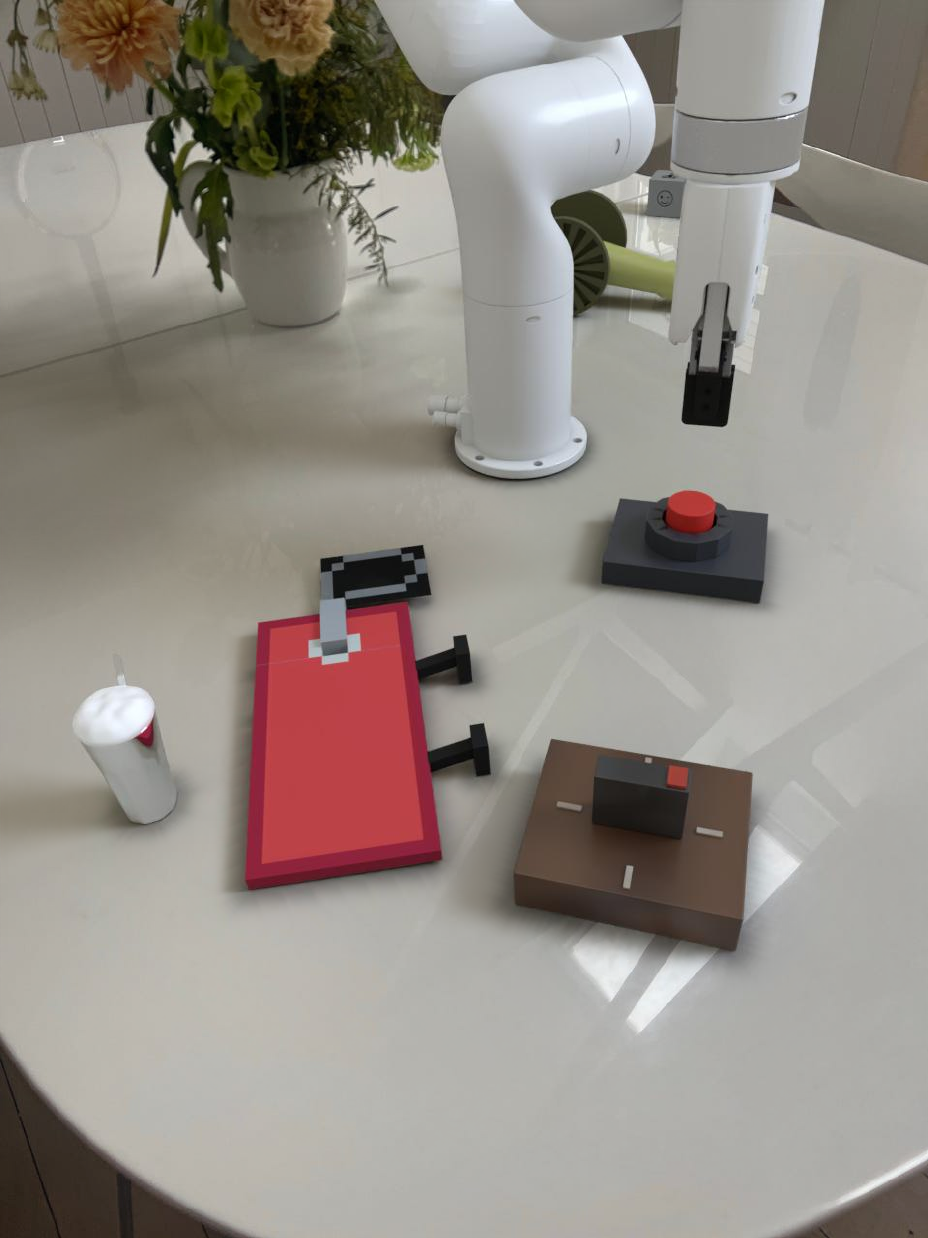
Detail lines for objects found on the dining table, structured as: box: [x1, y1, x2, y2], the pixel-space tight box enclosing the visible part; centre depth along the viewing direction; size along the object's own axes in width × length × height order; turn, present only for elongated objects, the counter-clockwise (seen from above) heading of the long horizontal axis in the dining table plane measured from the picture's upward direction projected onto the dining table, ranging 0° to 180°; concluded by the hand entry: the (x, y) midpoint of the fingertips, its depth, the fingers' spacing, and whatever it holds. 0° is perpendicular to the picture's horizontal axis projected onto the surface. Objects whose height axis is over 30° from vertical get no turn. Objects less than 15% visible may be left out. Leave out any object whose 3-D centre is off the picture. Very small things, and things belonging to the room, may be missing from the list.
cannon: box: [551, 189, 676, 316], centre depth 112 cm, size 25×12×11 cm, turn 71°
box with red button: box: [592, 755, 692, 839], centre depth 51 cm, size 5×2×4 cm, turn 75°
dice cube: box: [646, 169, 686, 219], centre depth 139 cm, size 5×5×5 cm
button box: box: [600, 496, 769, 604], centre depth 75 cm, size 12×9×4 cm
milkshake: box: [71, 653, 178, 825], centre depth 57 cm, size 4×5×10 cm
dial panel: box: [513, 738, 754, 952], centre depth 54 cm, size 12×10×3 cm
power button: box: [666, 490, 716, 534], centre depth 73 cm, size 4×4×2 cm
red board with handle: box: [244, 544, 492, 890], centre depth 65 cm, size 30×3×15 cm
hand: (704, 419), depth 67 cm, fingers closed
